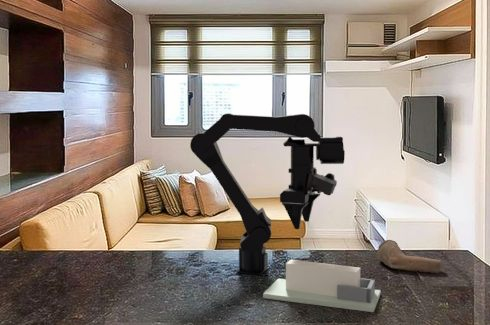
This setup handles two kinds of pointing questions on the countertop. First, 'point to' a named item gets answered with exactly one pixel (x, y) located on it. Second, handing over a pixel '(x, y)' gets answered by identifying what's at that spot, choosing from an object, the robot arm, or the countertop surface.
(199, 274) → the countertop surface
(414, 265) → the pipe
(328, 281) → the block
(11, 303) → the countertop surface
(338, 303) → the bracket board
